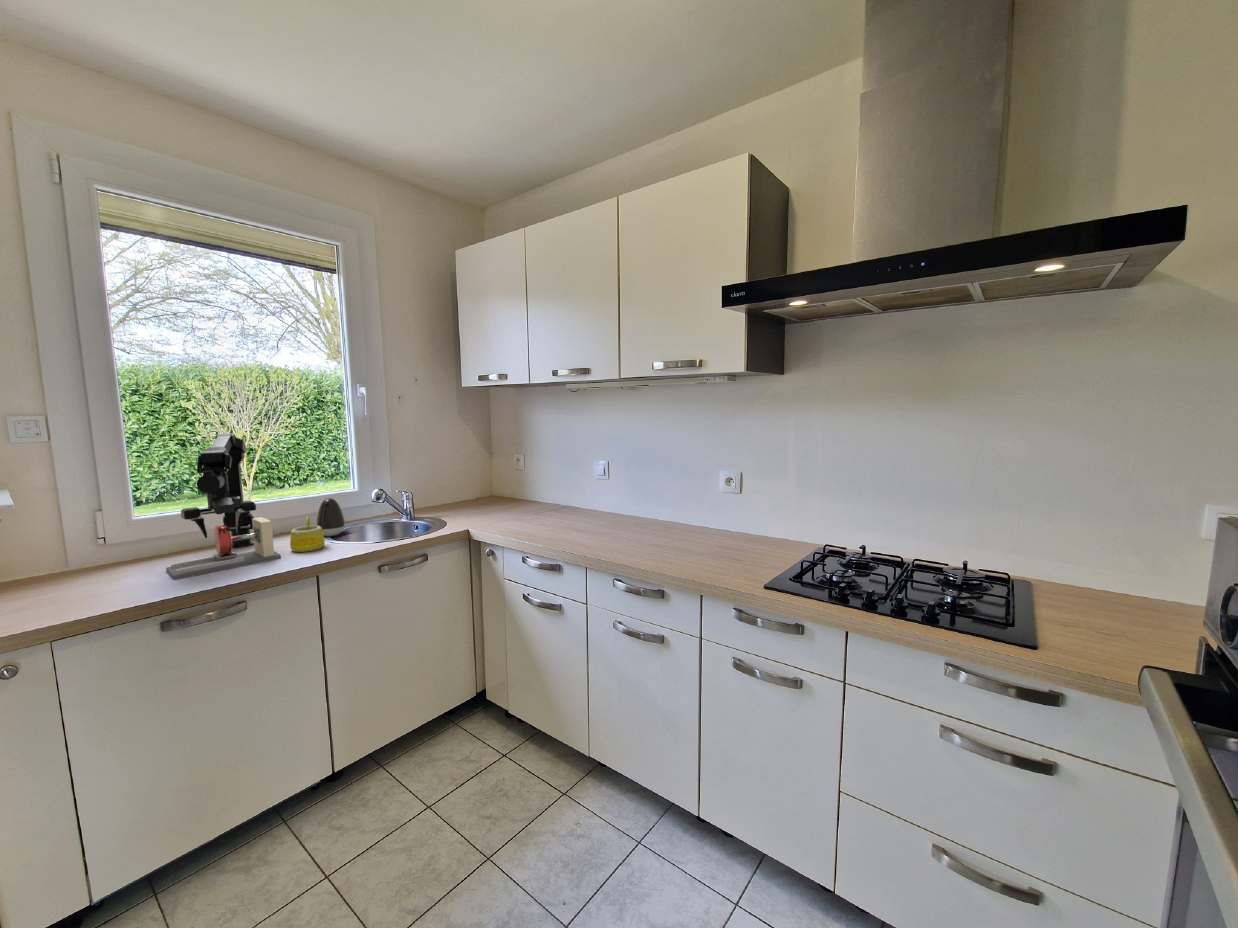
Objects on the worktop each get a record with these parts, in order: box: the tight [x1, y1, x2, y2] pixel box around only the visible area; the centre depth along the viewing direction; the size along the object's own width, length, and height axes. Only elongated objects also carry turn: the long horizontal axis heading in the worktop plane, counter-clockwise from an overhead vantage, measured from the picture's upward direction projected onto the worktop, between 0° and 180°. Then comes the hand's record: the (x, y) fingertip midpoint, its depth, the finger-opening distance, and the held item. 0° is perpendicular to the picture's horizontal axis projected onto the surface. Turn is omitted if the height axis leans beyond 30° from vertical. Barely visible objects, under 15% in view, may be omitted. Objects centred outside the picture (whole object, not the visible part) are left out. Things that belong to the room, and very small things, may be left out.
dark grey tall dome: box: [315, 497, 346, 537], centre depth 204 cm, size 10×10×15 cm
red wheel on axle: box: [213, 524, 275, 562], centre depth 170 cm, size 10×16×12 cm, turn 140°
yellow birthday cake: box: [289, 513, 325, 553], centre depth 184 cm, size 13×11×12 cm
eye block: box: [165, 516, 282, 581], centre depth 166 cm, size 13×28×13 cm, turn 140°
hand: (222, 535), depth 165 cm, fingers open, 8 cm apart
